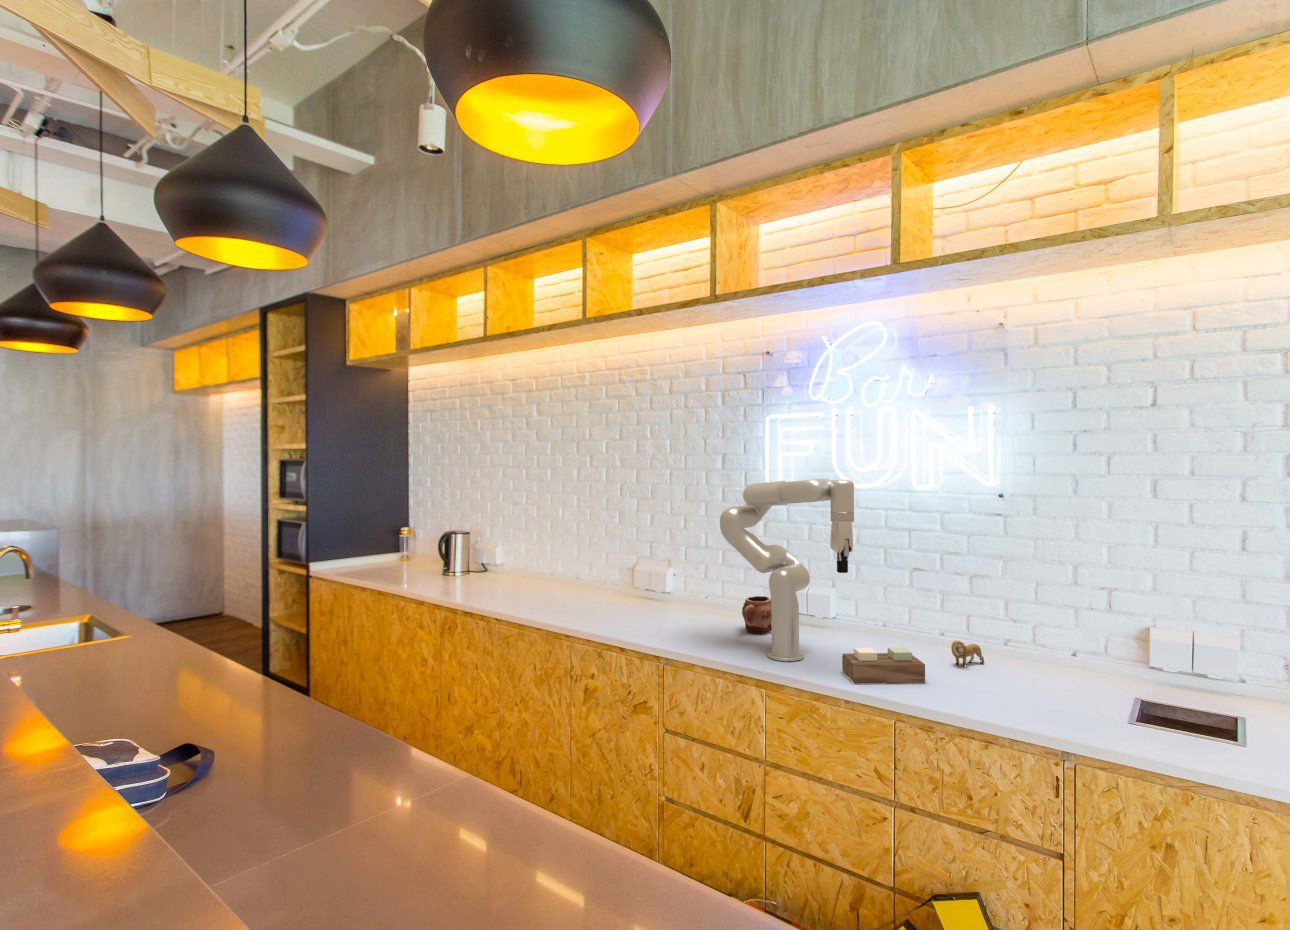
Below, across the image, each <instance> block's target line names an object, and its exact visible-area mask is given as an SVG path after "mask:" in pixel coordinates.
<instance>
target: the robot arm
mask: <svg viewBox="0 0 1290 930" xmlns="http://www.w3.org/2000/svg"><path fill="white" fill-rule="evenodd" d="M742 498H743V501H744V503H746V504H744V505H737V506H736V505H735V506H730V507H728V508H726V509H725V510H723V511H722V513H721V514H720V517H719V529H720V532H721V535H722V537H723V538H724V539H725V540H726V542H727V543H728V544H730V545H731V546H732V547H733V548H734V549H735V550H736V551H737V552H738V553H739V554H740V555H741V556H742V557H743V558H744V559H745V560H746V561H747V562H748V563H749V564H750V565H751V566H752V567H753V568H754V569H756V571H758V572H759V573H762V574H767V573H771V574H770V575H769V578H768V589H769V593H770V594H769V595H770V599H771V613H772V621H771V627H772V631H771V649H769V650H768V651H767V652H766V654H767V655H766V656H767V657H768V658H769V659H771V660H774V661H777V662H778V661H779V662H787V661H791V662H798V660H799V661H801V660H803V659H804V657H805V655H804V653H803V652H802V651H800V605H799V601H798V600H799V599H798V596H797V592H800V591H802V590H805V589H806V588H807V587H808V586H809V584H810V582H811V576H810V572H809V570H808V569H807V568H806V567H805V565H804V564H803V563H801V562H800V561H799V560H798V558H796V557H795V556H794V555H793V554H792V553H790V551H789V550H787V549H786V548H785V547H783V546H781V545H778V544H769V545H767V544H765V543H763V542H762V541H761V540H760V539H759V538H758V537H756V535H754V534H753V533H751V532H750V531H748V530H747V529H748V528H752V527H755V526H756V525H757V524H759V523H760V521H761V520H762V519H764V516H765V515H766V514H767V513H768V511H770V509H771V508H772V507H773V506H787V505H789V504H802V503H803V504H804V503H805V504H807V503H816V502H825V501H826V502H827V501H830V505H829V506H830V508H829V509H830V522H831V525H830V526H831V527H830V529H831V530H830V549H831V550H832V551H834V552H836V572H837V573H839V574H847V573H849V557H850V553H852V551H853V548H854V537H853V536H854V534H853V533H854V532H853V523H854V522H855V484H854V482H853V481H852V480H849V479H835V480H834V479H828V478H814V479H805V480H793V481H791V480H790V481H786V480H781V481H780V480H779V481H768V482H756V483H751V484H749V485H747V486H746V487H745V488H744V490H743V492H742ZM746 528H747V529H746Z"/></svg>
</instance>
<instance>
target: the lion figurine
mask: <svg viewBox="0 0 1290 930" xmlns="http://www.w3.org/2000/svg"><path fill="white" fill-rule="evenodd" d="M950 649H951V653H952V656H953V657H954V658H955V663H954V665H955V664H959V665H960V659H962V665H963V666H965V665H966V666H967V658H968V657H970V659H969V660H968V661H969V662H971V663H972V662H973V660H974V659H975V656H977V658H979V661H980V662H979V664H980V663H984V664H985V658H984V656H983V655H982V650H981V647H980V645H979V644H976V643H971V644H968V645H967V644H966V645H965V644H964V642H962V641H961V640H957V639H956V640H954V641H953V642H952V643H951V648H950Z"/></svg>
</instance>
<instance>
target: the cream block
mask: <svg viewBox="0 0 1290 930" xmlns="http://www.w3.org/2000/svg"><path fill="white" fill-rule="evenodd" d="M853 653H854V656H855V657H856V658H857V659H858V660H859V661H877V653H878V652H877V651H876V650H875V649H873V648H872V647H853Z"/></svg>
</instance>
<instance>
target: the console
mask: <svg viewBox="0 0 1290 930" xmlns="http://www.w3.org/2000/svg"><path fill="white" fill-rule="evenodd" d="M841 656H842V671H843V672H844V673H845V674H846V675H847V676H848V677H849V678H850V679H851V680H852V681H853V682H854V683H886V684H885V685H893V684H895V685H902V684H901V683H925V684H926V663H924V662H922V661H921V660H920V659H919V658H917V657H916V656H914V655H913V654H912V660H908V661H894V660H893V659H892V658H891V657H889V656H888V652H886V653H885V652H882V653H881V652H877V661H859V660H858V659H857V658H856V657H855V656H854V652H852V653H851V652H850V653H847V652H846V653H842V655H841ZM843 672H842V673H843ZM844 673H843V674H844ZM845 674H844V675H845ZM846 675H845V676H846ZM847 676H846V677H847ZM848 677H847V678H848ZM849 678H848V679H849ZM850 679H849V680H850ZM851 680H850V681H851ZM852 681H851V682H852ZM853 682H852V683H853ZM854 683H853V684H854Z"/></svg>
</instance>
